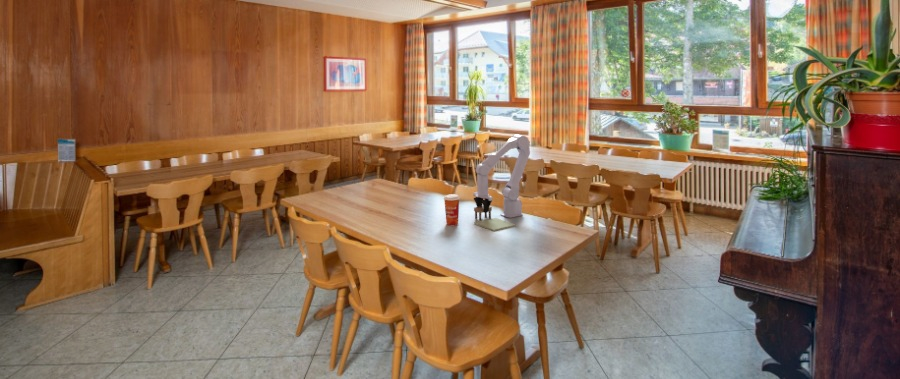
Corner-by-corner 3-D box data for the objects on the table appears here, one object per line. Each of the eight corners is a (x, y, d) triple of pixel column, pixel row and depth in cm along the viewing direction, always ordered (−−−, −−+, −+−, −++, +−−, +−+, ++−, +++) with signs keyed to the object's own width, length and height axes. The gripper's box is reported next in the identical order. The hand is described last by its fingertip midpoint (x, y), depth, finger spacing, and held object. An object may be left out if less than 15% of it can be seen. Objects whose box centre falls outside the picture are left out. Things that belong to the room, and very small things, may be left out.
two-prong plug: (486, 215, 262) (486, 205, 261) (491, 217, 258) (491, 207, 257) (474, 218, 258) (474, 207, 257) (479, 220, 254) (479, 209, 252)
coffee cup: (441, 225, 247) (440, 196, 244) (449, 221, 254) (448, 193, 251) (456, 227, 243) (455, 198, 240) (463, 222, 250) (462, 194, 247)
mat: (495, 219, 255) (495, 217, 255) (515, 226, 242) (515, 224, 242) (474, 223, 248) (474, 222, 248) (493, 231, 235) (493, 229, 234)
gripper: (468, 185, 258) (468, 209, 261) (484, 189, 246) (485, 215, 249) (479, 183, 262) (479, 207, 265) (495, 188, 250) (495, 213, 253)
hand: (482, 211), depth 257 cm, fingers closed on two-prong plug, 5 cm apart
